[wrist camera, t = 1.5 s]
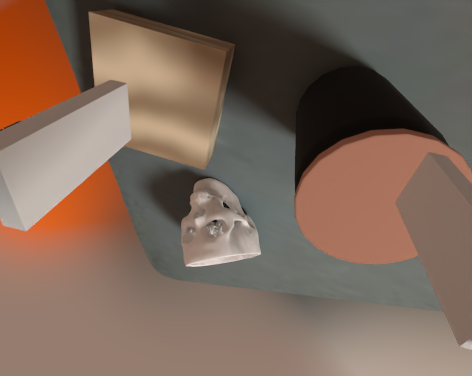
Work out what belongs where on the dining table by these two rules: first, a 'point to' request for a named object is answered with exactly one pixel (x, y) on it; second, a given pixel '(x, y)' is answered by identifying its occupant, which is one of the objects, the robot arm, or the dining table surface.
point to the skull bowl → (217, 227)
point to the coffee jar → (360, 165)
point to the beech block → (164, 82)
